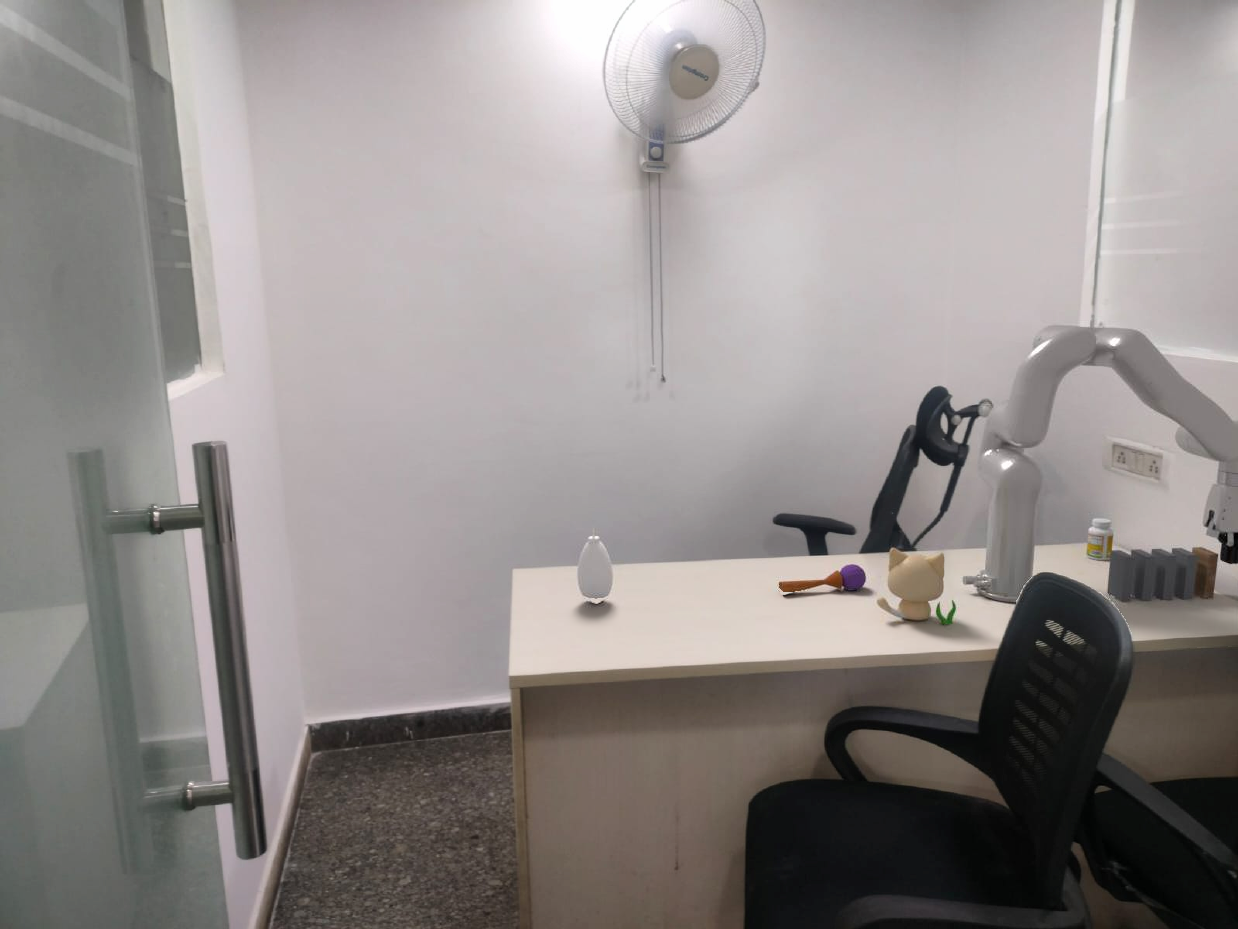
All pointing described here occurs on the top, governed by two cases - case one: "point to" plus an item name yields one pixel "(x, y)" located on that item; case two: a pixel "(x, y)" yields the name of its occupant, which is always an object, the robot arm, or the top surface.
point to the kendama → (830, 580)
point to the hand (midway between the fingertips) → (1228, 562)
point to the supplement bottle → (1100, 540)
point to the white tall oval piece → (595, 569)
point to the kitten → (916, 585)
